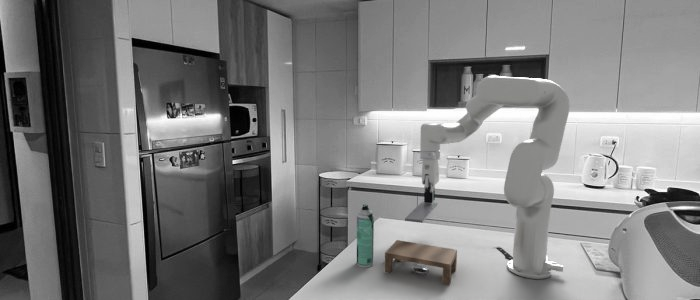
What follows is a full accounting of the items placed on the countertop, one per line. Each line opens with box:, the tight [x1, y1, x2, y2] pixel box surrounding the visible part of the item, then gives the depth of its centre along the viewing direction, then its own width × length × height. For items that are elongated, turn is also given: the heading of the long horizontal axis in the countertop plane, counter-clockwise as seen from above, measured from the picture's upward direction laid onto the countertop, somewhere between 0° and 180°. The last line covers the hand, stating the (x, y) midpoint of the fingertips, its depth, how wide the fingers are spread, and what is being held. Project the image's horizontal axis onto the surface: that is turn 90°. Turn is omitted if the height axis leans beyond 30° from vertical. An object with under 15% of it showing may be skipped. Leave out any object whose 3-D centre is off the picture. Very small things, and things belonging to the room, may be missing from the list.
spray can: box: [356, 204, 375, 268], centre depth 122 cm, size 6×6×20 cm
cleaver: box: [493, 246, 513, 261], centre depth 141 cm, size 29×1×10 cm
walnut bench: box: [384, 239, 458, 286], centre depth 118 cm, size 20×12×6 cm, turn 65°
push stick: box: [404, 185, 438, 224], centre depth 138 cm, size 6×25×8 cm, turn 156°
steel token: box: [412, 264, 430, 276], centre depth 119 cm, size 5×5×1 cm
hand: (429, 200), depth 148 cm, fingers closed on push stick, 3 cm apart
